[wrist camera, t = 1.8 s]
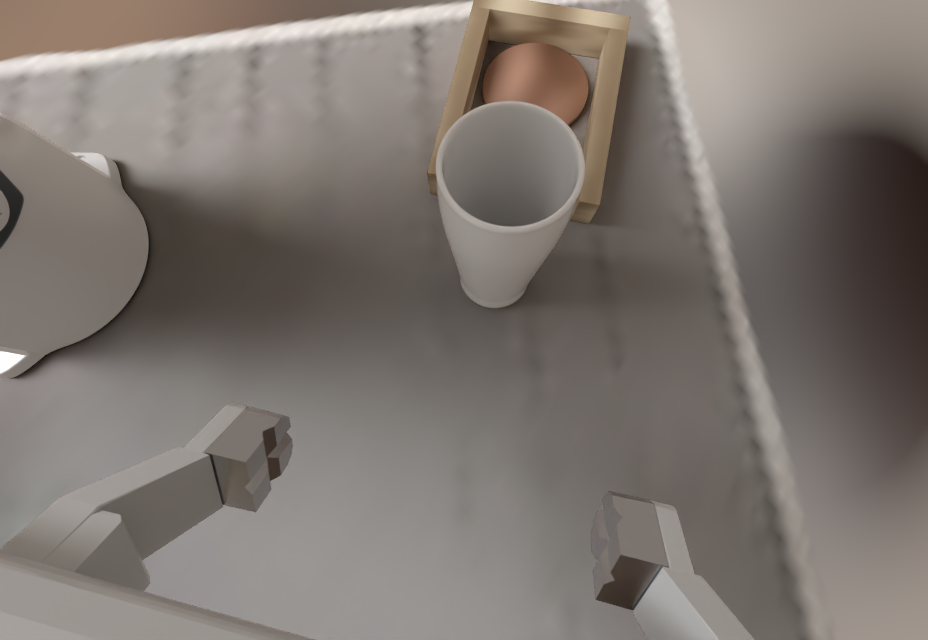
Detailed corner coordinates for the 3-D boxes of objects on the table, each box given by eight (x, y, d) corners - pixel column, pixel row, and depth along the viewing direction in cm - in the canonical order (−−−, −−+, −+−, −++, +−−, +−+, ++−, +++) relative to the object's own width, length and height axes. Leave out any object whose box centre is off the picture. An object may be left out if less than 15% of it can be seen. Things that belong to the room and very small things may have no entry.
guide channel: (430, 193, 35) (427, 172, 32) (475, 24, 39) (476, -8, 36) (589, 223, 34) (599, 205, 31) (618, 47, 38) (630, 16, 35)
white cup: (549, 305, 33) (611, 208, 18) (464, 330, 32) (458, 252, 18) (521, 227, 34) (557, 81, 20) (440, 250, 34) (415, 119, 20)
